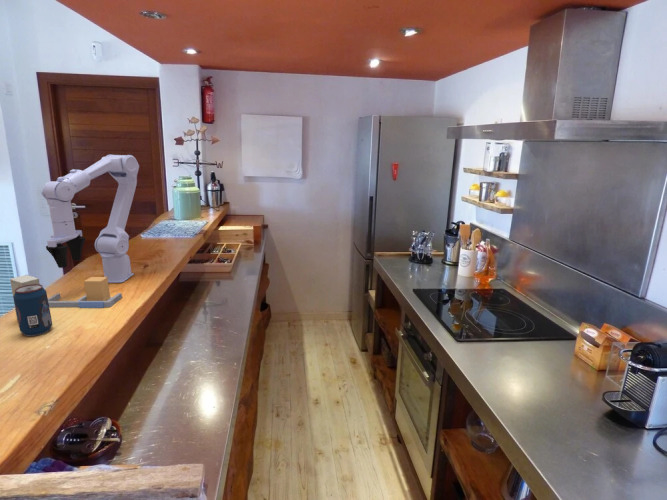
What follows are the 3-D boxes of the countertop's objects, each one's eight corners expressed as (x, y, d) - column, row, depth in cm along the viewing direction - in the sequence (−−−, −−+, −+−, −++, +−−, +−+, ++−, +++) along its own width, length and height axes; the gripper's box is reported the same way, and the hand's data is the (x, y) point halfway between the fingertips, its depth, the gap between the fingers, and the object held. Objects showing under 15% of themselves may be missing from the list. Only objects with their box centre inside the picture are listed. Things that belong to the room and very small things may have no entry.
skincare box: (16, 320, 114) (8, 278, 111) (34, 314, 118) (26, 274, 115) (29, 325, 112) (20, 282, 109) (47, 319, 115) (39, 277, 112)
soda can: (22, 328, 110) (13, 286, 107) (54, 323, 113) (46, 281, 110) (18, 339, 104) (9, 294, 101) (52, 333, 107) (44, 289, 104)
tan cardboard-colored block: (94, 298, 130) (91, 277, 128) (110, 298, 130) (107, 277, 128) (87, 303, 126) (83, 281, 124) (104, 303, 126) (100, 281, 125)
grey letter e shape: (57, 297, 131) (56, 292, 130) (122, 297, 131) (121, 292, 131) (40, 308, 123) (39, 302, 122) (109, 307, 123) (108, 302, 123)
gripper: (63, 216, 134) (70, 257, 138) (33, 226, 120) (41, 270, 124) (86, 216, 134) (92, 257, 138) (58, 226, 120) (66, 270, 124)
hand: (69, 263), depth 131 cm, fingers open, 7 cm apart
